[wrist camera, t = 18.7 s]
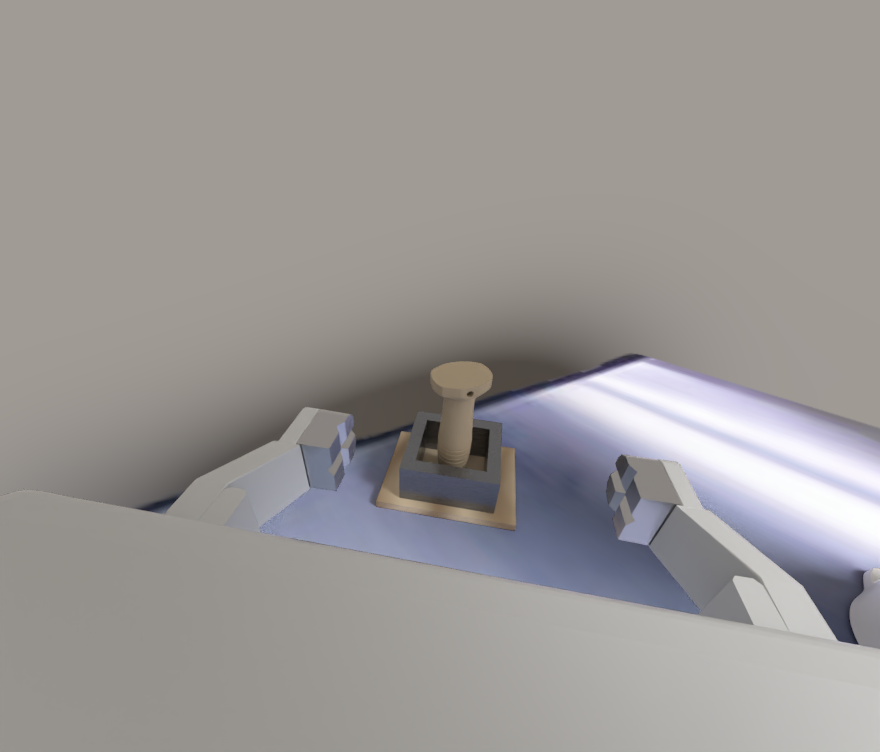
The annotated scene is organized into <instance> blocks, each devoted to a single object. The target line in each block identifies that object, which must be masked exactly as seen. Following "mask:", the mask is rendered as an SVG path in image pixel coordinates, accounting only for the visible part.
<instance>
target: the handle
mask: <svg viewBox="0 0 880 752" xmlns="http://www.w3.org/2000/svg"><path fill="white" fill-rule="evenodd" d="M492 378H493V376H492V373H491V371H490V370H489V369H488V368H487V367H486V366H484V365H483V364H480V363H475V362H463V361H462V362H452V363H446V364H443V365H441V366H438V367H437V368H434V369H433V370H432V371H431V386H432V388H433V390H434V391H435V392H436V393H437V394H439V395H440V396H443V397H444V401H443V408H442V416H441V422H440V428H439V434H438V445H437V454H438V464H442V465H448V466H454V467H460V468H466V464H467V461H468V458H469V454H470V449H471V443H472V427H473V413H474V401H475V398H476V397H478V396H480V395H482V394H483V393H485V392H486V391H488V390H489V389H490V388H491V384H492Z"/></svg>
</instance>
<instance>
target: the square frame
mask: <svg viewBox="0 0 880 752" xmlns="http://www.w3.org/2000/svg"><path fill="white" fill-rule="evenodd" d="M441 416H442V414H435V413H429V412H422V411H418V413H417V416H416V419H415V422H414V425H413V428H412V431H411V434H410V437H409V440H408V443H407V446H406V449H405V452H404V455H403V458H402V461H401V464H400V467H399V498H404V499H410V500H416V501H422V502H428V503H434V504H439V505H445V506H451V507H457V508H463V509H468V510H474V511H480V512H486V513H492V514H494V511H495V506H496V502H497V497H498V493H499V489H500V480H501V442H502V423H497V422H490V421H483V420H476V419H473V427H472V443H471V449H470V454H469V455H473V456H480V457H485V462H484V471H479V470H473V469H467V468H460V467H454V466H448V465H442V464H435V463H429V462H423V457H424V453H425V449H426V448H429V449H435V450H437V445H438V434H439V428H440V422H441Z"/></svg>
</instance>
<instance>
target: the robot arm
mask: <svg viewBox="0 0 880 752" xmlns="http://www.w3.org/2000/svg"><path fill="white" fill-rule="evenodd" d="M353 425H354V418H353V416H352V415H351V414H346V413H340V412H335V411H328V410H323V409H315V408H309V407H306V408H304V409H302V411H301V412H300V413H299V415H298V416H297V417H296V419H295V420H294V421H293V422H292V424H291V425H290V426H289V428H288V429H287V430H286V432H285V433H284V434H283V436H282V437H281V438H280V440H279V441H272V442H270V443H268V444H266V445H264V446H262V447H260V448H258V449H256V450H254V451H252V452H250V453H248V454H246V455H244V456H242V457H240V458H238V459H236V460H234V461H232V462H230V463H228V464H226V465H223V466H221V467H220V468H217V469H216V470H213V471H211V472H209V473H207V474H205V475H203V476H201V477H199V478H197V479H196V480H195V481H194V482H193V483H192V484H191V485H190V486H189V487H188V488H187V489H186V491H185V492H184V493H183V494H182V495H181V496H180V497H179V498H178V499H177V500H176V502H175V503H174V504H173V505H172V506H171V507H170V508H169V509H168V510H167V511H166V512H165V514H160V513H154V512H149V511H144V510H138V509H133V508H127V507H122V506H117V505H111V504H106V503H101V502H95V501H90V500H85V499H79V498H74V497H69V496H64V495H59V494H55V493H50V492H45V491H38V490H20V491H15V492H12V493H8V494H5V495H2V496H0V752H880V569H879V568H872V569H870V570H868V571H866V572H865V573H864V575H863V583H864V590H863V592H862V593H861V594H860V595H859V596H858V597H856V598H855V599H854V600H853V602H852V604H851V607H850V622H851V626H852V630H853V632H854V635H855V637H856V639H857V642H858V644H859V645H856V644H851V643H846V642H840V641H838V640H837V639H836V637H835V635H834V634H833V632H832V631H831V629H830V628H829V626H828V625H827V623H826V621H825V620H824V618H823V617H822V615H821V614H820V612H819V610H818V609H817V607H816V606H815V604H814V603H813V601H812V600H811V598H810V596H809V595H808V593H807V592H806V590H805V589H804V587H803V586H802V585H801V584H800V583H798V582H797V581H796V580H795V579H793V578H792V577H791V576H790V575H788V574H787V573H786V572H785V571H784V570H782V569H781V568H780V567H779V566H777V565H776V564H775V563H774V562H772V561H771V560H770V559H769V558H768V557H766V556H765V555H764V554H763V553H761V552H760V551H759V550H758V549H756V548H755V547H754V546H753V545H752V544H750V543H749V542H748V541H747V540H745V539H744V538H743V537H742V536H740V535H739V534H738V533H737V532H736V531H734V530H733V529H732V528H731V527H729V526H728V525H727V524H726V523H724V522H723V521H722V520H721V519H720V518H718V517H717V516H716V515H715V514H713V513H712V512H711V511H710V510H705V509H703V507H702V505H701V503H700V501H699V499H698V498H697V496H696V494H695V492H694V490H693V488H692V486H691V484H690V482H689V480H688V478H687V476H686V474H685V473H684V471H683V469H682V467H681V465H680V464H679V463H678V462H674V461H667V460H659V459H658V460H656V459H650V458H643V457H636V456H629V455H621V456H620V457H618V459H617V462H616V467H617V471H615V472H613V473H612V474H610V477H609V479H608V482H607V489H606V493H607V500H608V505H609V506H610V507H611V508H612V509H613V510H614V512H615V514H614V516H613V518H612V520H613V524H614V527H615V531H616V535H617V538H618V540H623V541H628V542H633V543H638V544H643V545H648V546H649V548H650V549H651V550H652V552H653V553H654V554H655V555H656V557H657V558H658V559H659V560H660V561H661V563H662V564H663V565H664V566H665V568H666V569H667V570H668V571H669V572H670V574H671V575H672V576H673V577H674V579H675V580H676V581H677V582H678V584H679V585H680V586H681V587H682V588H683V590H684V591H685V592H686V593H687V595H688V596H689V597H690V598H691V599H692V601H693V602H694V603H695V604H696V606H697V607H698V608H699V609H700V611H701V612H700V613H699V614H698V615H697V614H692V613H686V612H681V611H676V610H670V609H665V608H660V607H654V606H649V605H644V604H639V603H633V602H628V601H623V600H617V599H612V598H607V597H601V596H596V595H591V594H585V593H580V592H574V591H569V590H564V589H558V588H553V587H548V586H542V585H537V584H531V583H526V582H521V581H515V580H510V579H505V578H499V577H494V576H489V575H484V574H478V573H473V572H468V571H462V570H457V569H452V568H447V567H441V566H436V565H431V564H425V563H420V562H415V561H410V560H404V559H399V558H394V557H388V556H383V555H378V554H372V553H367V552H362V551H356V550H351V549H346V548H340V547H335V546H330V545H325V544H319V543H314V542H309V541H303V540H298V539H293V538H287V537H282V536H277V535H271V534H266V533H261V530H260V527H261V526H262V525H263V524H265V523H266V522H267V521H269V520H270V519H271V518H272V517H274V516H275V515H276V514H278V513H279V512H280V511H282V510H283V509H284V508H285V507H287V506H288V505H289V504H291V503H292V502H293V501H295V500H296V499H297V498H299V497H300V496H301V495H302V494H304V493H305V492H306V491H308V490H309V489H310V488H309V487H311V488H318V489H325V490H332V491H337V489H338V487H339V485H340V483H341V481H342V479H343V477H344V475H345V473H344V467H345V466H347V465H348V464H350V462H351V460H352V458H353V455H354V451H355V447H356V435H355V434H354V433H353V431H352V430H351V429H352V428H353Z"/></svg>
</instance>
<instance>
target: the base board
mask: <svg viewBox="0 0 880 752" xmlns="http://www.w3.org/2000/svg"><path fill="white" fill-rule="evenodd" d="M410 434H411V433H410V432H403V431H401V434H400V437H399V439H398V442H397V445H396V448H395V451H394V453H393V456H392V459H391V462H390V464H389V467H388V470H387V473H386V475H385V478H384V481H383V484H382V486H381V489H380V492H379V495H378V497H377V500H376V507H382V508H387V509H393V510H399V511H404V512H410V513H416V514H422V515H427V516H433V517H439V518H444V519H450V520H456V521H462V522H467V523H473V524H479V525H484V526H490V527H496V528H502V529H507V530H513V531H515V527H516V491H515V449H514V448H508V447H501V480H500V489H499V493H498V497H497V502H496V506H495V511H494V514H492V513H486V512H480V511H474V510H468V509H463V508H457V507H451V506H445V505H439V504H434V503H428V502H422V501H416V500H410V499H404V498H399V467H400V464H401V461H402V458H403V455H404V452H405V449H406V446H407V443H408V440H409V437H410ZM423 462H429V463H435V464H438V454H437V450H435V449H429V448H426V449H425V453H424V457H423ZM484 462H485V457H480V456H473V455H469V458H468V461H467V464H466V468H467V469H473V470H479V471H484Z"/></svg>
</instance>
